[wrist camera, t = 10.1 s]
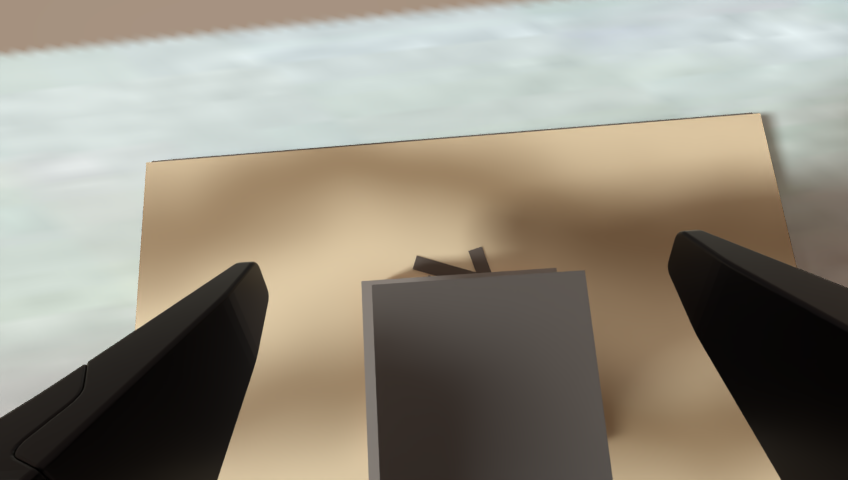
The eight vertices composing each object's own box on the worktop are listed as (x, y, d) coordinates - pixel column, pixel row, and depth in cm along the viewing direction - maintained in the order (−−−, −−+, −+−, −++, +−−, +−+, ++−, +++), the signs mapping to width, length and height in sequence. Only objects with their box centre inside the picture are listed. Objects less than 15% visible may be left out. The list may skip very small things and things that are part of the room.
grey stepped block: (564, 460, 14) (775, 705, 5) (378, 470, 14) (267, 721, 5) (543, 274, 15) (684, 206, 6) (370, 285, 15) (267, 237, 6)
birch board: (883, 719, 13) (935, 766, 12) (122, 742, 14) (86, 789, 13) (745, 117, 17) (772, 99, 16) (158, 164, 18) (133, 151, 17)
